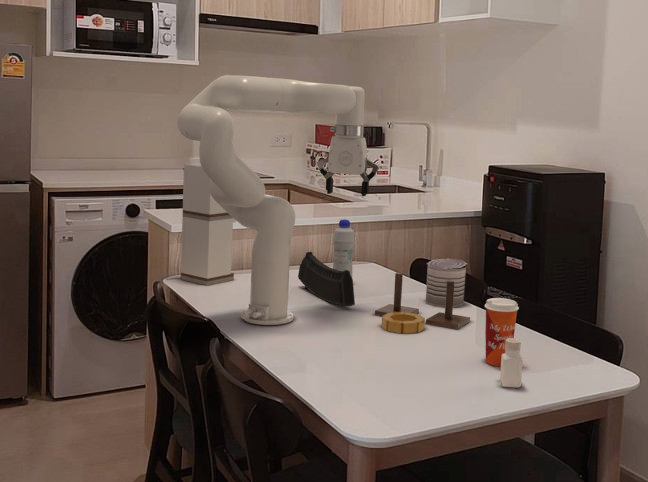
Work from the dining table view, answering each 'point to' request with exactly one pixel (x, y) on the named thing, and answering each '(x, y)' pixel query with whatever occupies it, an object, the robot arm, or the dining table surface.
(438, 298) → the can
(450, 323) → the right peg
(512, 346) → the salt shaker
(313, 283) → the magazine
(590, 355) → the dining table surface
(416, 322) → the ring
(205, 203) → the banded square column
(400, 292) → the left peg
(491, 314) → the paper cup
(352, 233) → the bottle
